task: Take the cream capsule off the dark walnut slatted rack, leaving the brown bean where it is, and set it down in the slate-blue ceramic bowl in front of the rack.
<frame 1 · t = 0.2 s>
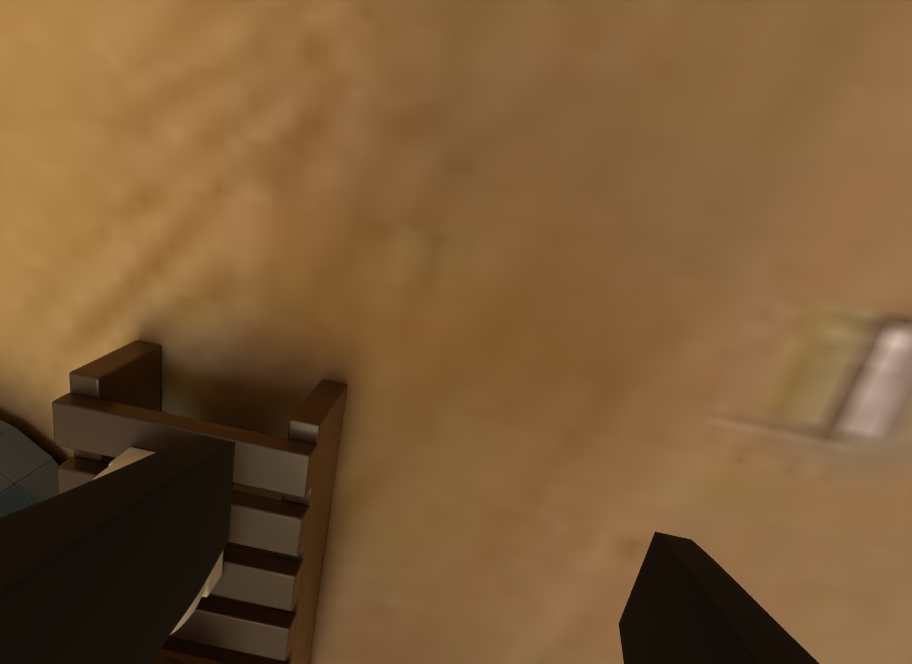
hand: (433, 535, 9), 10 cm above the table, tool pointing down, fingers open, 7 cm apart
cream capsule: (178, 513, 17), point 4 cm above the table, touching rack
rack: (231, 522, 21), on the table
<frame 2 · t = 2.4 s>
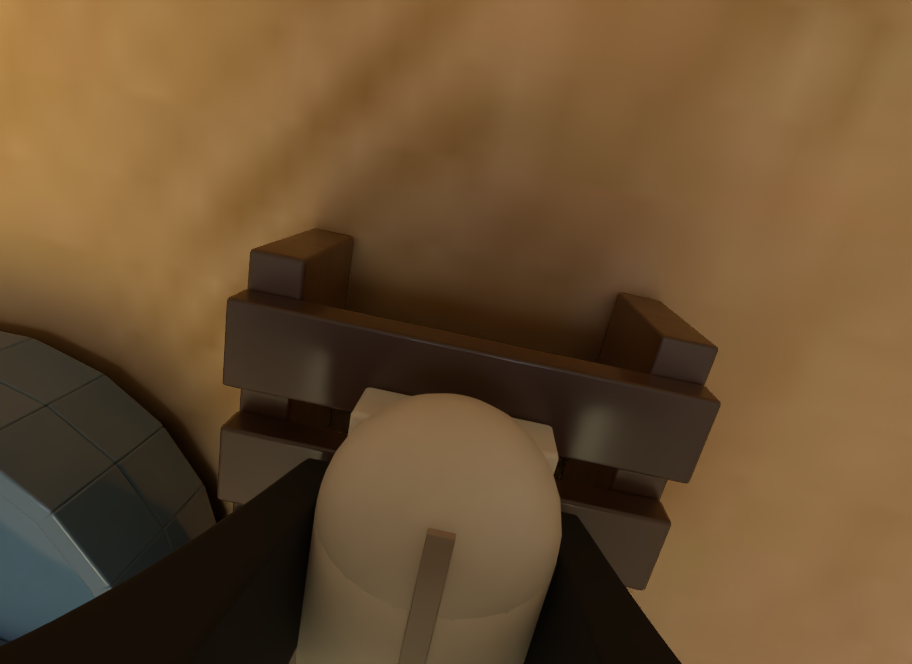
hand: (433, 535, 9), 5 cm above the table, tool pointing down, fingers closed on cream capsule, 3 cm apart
cream capsule: (435, 511, 9), point 4 cm above the table, touching gripper, rack
rack: (428, 526, 14), on the table
bowl: (31, 513, 15), on the table
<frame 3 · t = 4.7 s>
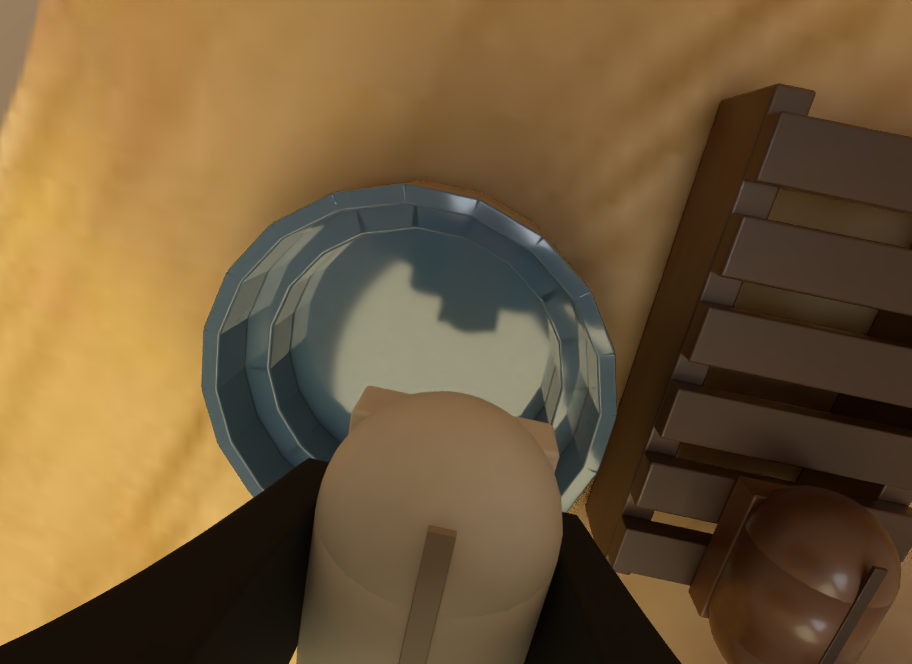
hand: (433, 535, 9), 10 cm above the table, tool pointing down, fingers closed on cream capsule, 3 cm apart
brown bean: (763, 546, 15), point 4 cm above the table, touching rack
cream capsule: (436, 510, 9), point 9 cm above the table, touching gripper
rack: (759, 356, 17), on the table
bowl: (422, 353, 18), on the table
when the fingers open (1 cm above the table, at t = 7.3 s): cream capsule stays where it is, resting on bowl.
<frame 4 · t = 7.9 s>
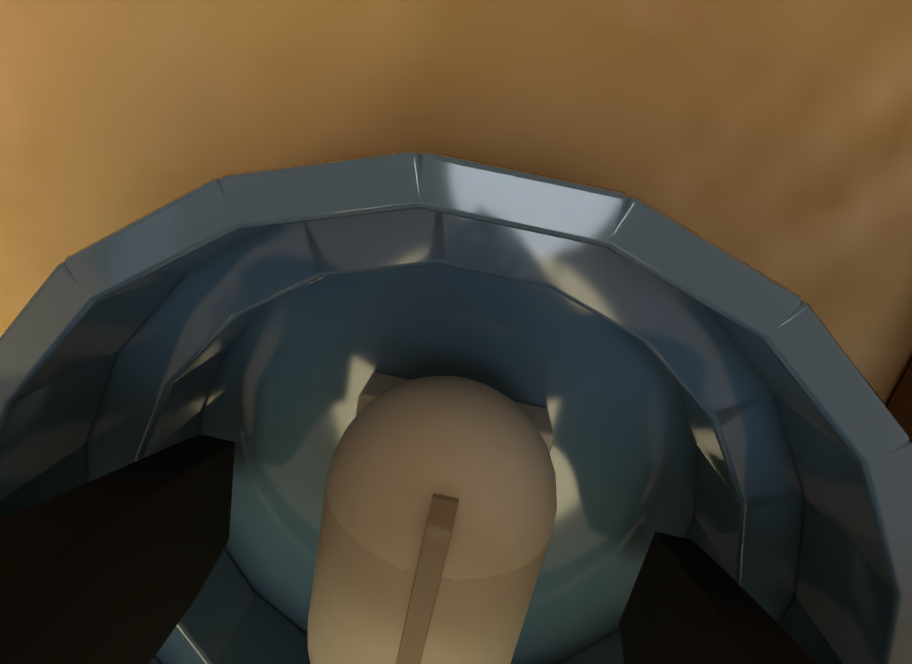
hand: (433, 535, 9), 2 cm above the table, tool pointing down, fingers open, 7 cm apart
cream capsule: (438, 491, 10), resting on bowl
bowl: (442, 478, 10), on the table
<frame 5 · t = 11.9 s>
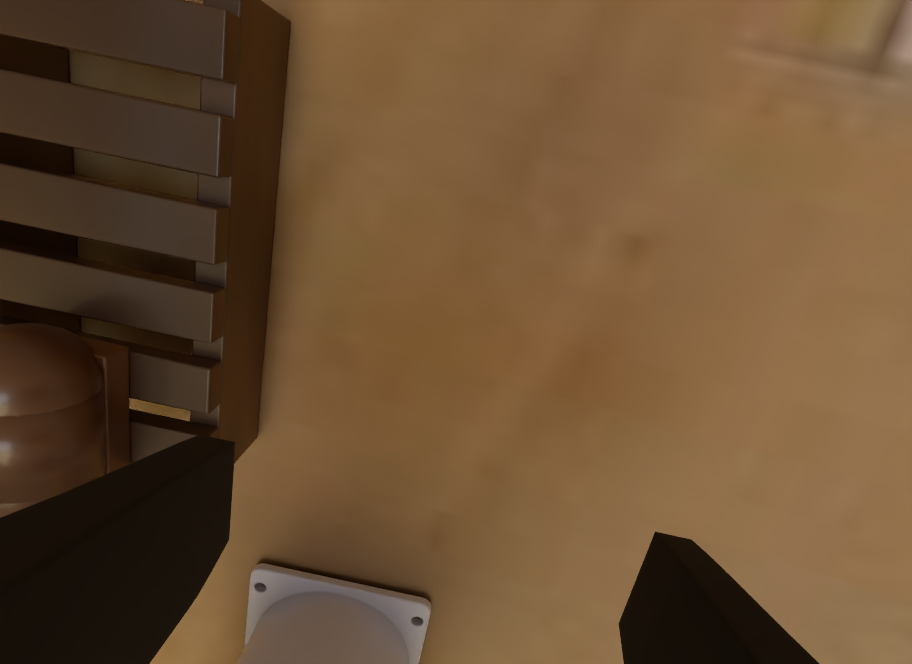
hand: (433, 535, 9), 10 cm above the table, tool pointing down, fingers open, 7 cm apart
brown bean: (80, 399, 16), point 4 cm above the table, touching rack
rack: (160, 233, 18), on the table
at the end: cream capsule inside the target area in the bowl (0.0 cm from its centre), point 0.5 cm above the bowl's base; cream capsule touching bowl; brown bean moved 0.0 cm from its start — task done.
